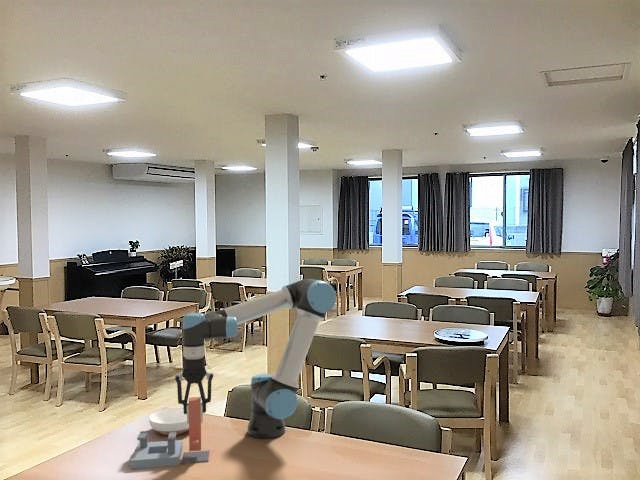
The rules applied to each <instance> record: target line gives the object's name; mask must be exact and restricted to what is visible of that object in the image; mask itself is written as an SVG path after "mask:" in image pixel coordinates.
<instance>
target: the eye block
mask: <svg viewBox="0 0 640 480" xmlns="http://www.w3.org/2000/svg"><path fill="white" fill-rule="evenodd" d="M148 436H149V435H148V430H142V431H140V432H139V434H138V436H137V441H139V442H138V443H137V444H136V446H135V449H134V451H133V454H132V456H131V458H130V470H136V469H137V470H138V469H150V468H153V469H154V468H162V467H163V468H164V467H176V466H180V461H181V458H182V457H181V456H182V452H183V447H184V446H183V440H182V439H176V437H177V435H176V432H173V433H169V435H167V436H168V437H167V440H164V441H163V440H162V441H150V442H149V440H148V439H149V437H148Z"/></svg>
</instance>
